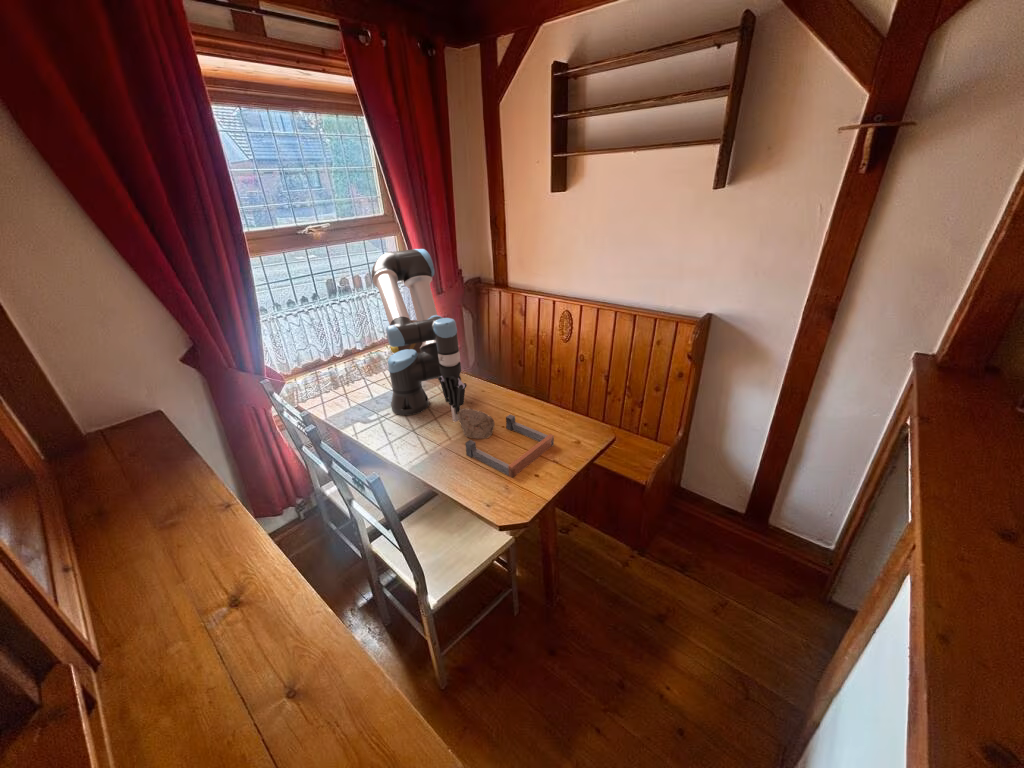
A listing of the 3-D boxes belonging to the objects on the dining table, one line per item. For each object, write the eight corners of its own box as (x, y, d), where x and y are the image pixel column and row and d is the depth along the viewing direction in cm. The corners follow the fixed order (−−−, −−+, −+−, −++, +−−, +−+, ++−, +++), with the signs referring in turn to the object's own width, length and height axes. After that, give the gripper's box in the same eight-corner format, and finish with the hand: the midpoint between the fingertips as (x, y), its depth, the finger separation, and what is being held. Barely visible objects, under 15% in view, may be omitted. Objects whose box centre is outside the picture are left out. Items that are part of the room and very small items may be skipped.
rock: (493, 407, 158) (497, 411, 151) (490, 435, 159) (494, 440, 152) (456, 405, 155) (458, 409, 147) (453, 433, 156) (455, 438, 148)
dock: (466, 455, 143) (465, 442, 141) (510, 425, 158) (510, 414, 156) (511, 478, 131) (510, 465, 129) (554, 444, 147) (554, 432, 144)
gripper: (429, 361, 151) (437, 418, 161) (454, 370, 143) (461, 429, 153) (445, 355, 155) (452, 410, 166) (470, 363, 148) (476, 421, 158)
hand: (456, 420), depth 159 cm, fingers closed
